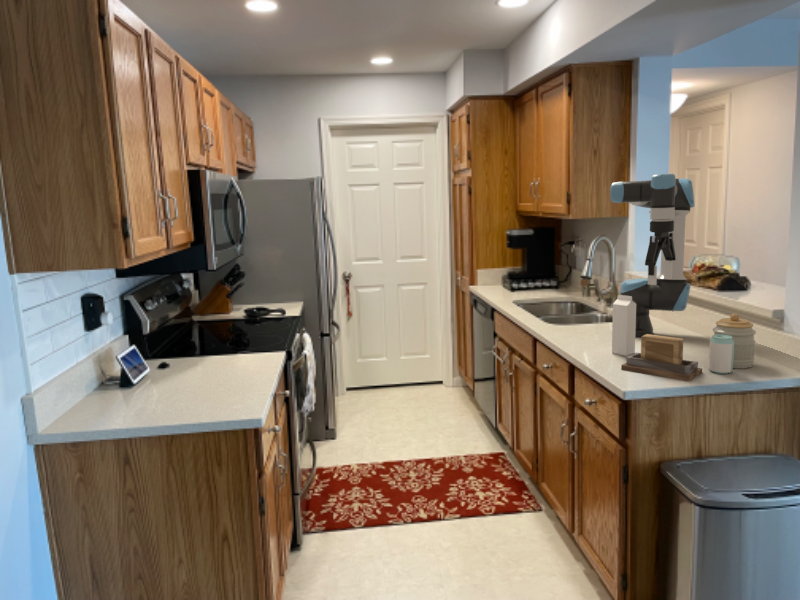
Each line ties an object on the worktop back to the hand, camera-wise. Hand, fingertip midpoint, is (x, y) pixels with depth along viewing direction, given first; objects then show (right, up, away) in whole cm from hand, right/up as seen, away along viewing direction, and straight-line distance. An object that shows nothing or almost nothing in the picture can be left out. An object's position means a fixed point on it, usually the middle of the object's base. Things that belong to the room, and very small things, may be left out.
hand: (659, 281), depth 206 cm
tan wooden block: (-3, -29, -7) cm, 30 cm away
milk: (-6, -27, +18) cm, 32 cm away
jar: (+24, -29, -2) cm, 37 cm away
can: (+16, -30, -10) cm, 35 cm away
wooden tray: (-3, -30, -7) cm, 31 cm away
